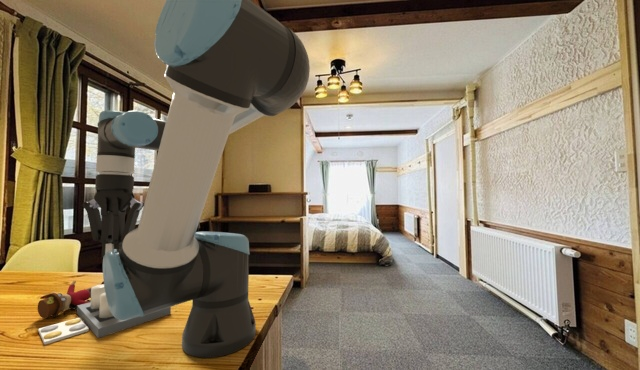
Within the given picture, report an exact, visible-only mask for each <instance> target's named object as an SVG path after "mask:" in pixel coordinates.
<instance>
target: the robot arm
mask: <svg viewBox="0 0 640 370" xmlns="http://www.w3.org/2000/svg"><path fill="white" fill-rule="evenodd" d="M154 35H155V39H154V41H153V42H154V45H153V46H154V50H155V51H154V52H155V54H156V56H157V58H158V59H159V60H160V61H162V62H163V64H164V65H166V68H165V72H164V78H165V79H166V81H167V83H168V84H169V86H170V88H171V90H172V91H173V94H172V98H171V102H170V106H169V110H168V113H167V116H166V120H162V119H161V120H160V119H158V118H157V119H156V118H153V117H152V116H151V115H150V114H148V113H146V112H144V111H142V110H141V111H140V110H128V111H120V110H103V111H101V112H99V116H98V122H97V125H96V126H97V148H96V150H97V151H96V153H97V154H96V163H95V164H96V166H95V172H97V173H98V174H97V175H96V176H95V187H94V188H95V190H96V192H95V194H94V196H93V198H92V199H90V200H89V201H85V202H82V207H83V208H84V210H85V211H86V213H87V215H86V216H87V219H88V223H89V227H90V228H89V229H90V233H91V237H92V240H93V242H99V243H100V244H101V257H102V258H103V259H102V276H103V280H102V281H104V288H105V293H106V298H107V302H108V306H109V309H110V311H111V313H112V315H113V316H114V317H115V318H117V319H119V320H127V319H131V318H135V317H139V316H141V317H143V316H145V315H147V314H150V313H153V312H156V311H159V310H162V309H165V308H169V307H171V308H172V307H175V306H177V305H180V304H181V305H182V304H185V303H187V302H190V301H192V303H191V304H192V306H191V309H190V312H189V315H188V317H187V321H186V323H185V326H184V329H183V330H182V331H183V332H182V334H181V335H182V337H181V338H182V339H181V347H182V350H183V352H184V353H185V354H187V355H189V356H191V357H195V358H202V359H203V358H205V359H206V358H210V359H211V358H218V357H223V356H227V355H231V354H232V353H236V352H238V351H240V350H241V349H243V348H245V347H247V346H248V345H249V344H250V343H252V342H253V340H254V339H255V337H256V331H257V330H256V328H257V327H256V325H257V323H256V319H255V316H254V312H253V309H252V307H251V303H250V301H249V284H250V283H249V278H250V277H249V274H250V273H249V271H250V270H249V269H250V254H251V253H250V242H249V238H248V237H247V236H246V235H244V234H243V233H242V234H241V233H234V232H223V231H197V229H198V226H199V224H200V220H201V218H202V214H203V211H204V208H205V205H206V203H207V199H208V197H209V194H210V190H211V188H212V185H213V182H214V179H215V177H216V176H215V175H216V173H217V170H218V166H219V165H220V161H221V158H222V156H223V152H224V150H225V146H226V144H227V141H228V138H229V135H231V134H233V133H235V132H236V131H238V130H240V129H242V128H243V127H246V126H247V125H250V124H251V123H253V122H255V121H257V120H259V119H260V118H263V117H264V116H265V117H268V118H269V117H270V118H271V117H276V116H277V115H279V114H281V113H284V112H285V111H287V110H289V108H291V107H292V106H294V105H295V104H296V103H297V102H298V101H299V99H301V97H302V96H303V94H304V92H305V90H306V88H307V86H308V82H309V78H310V72H311V71H310V70H311V69H310V68H311V67H310V59H309V55H308V52H307V49H306V48H305V47H306V46H305V45H304V43H303V42H302V40H301V39H300V37H299V35H297V34H296V33H295V32H294V31H293V30H292V29H291V28H289V27H288V26H286V25H284V24H283V23H281V22H280V21H279V20H277V18H275V17H273V16H272V15H271V14H270V13H268V12H267V11H266V10H264V9H263V8H262V7H260V6H259V5H257V4H256V3H255V2H254V1H252V0H166V1H165V3H164V4H163V7H162V9H161V11H160V13H159V17H158V20H157V23H156V27H155V32H154ZM136 149H143V150H149V151H157V155H156V159H155V161H154V166H153V171H152V173H151V178H150V180H149V185H148V189H147V193H146V196H145V201H144V202H142V201H139V200H137V199H136V198H135V194H134V192H133V191H134V189H135V187H134V186H135V177H134V176H133V174H134V173H135V162H136V161H135V160H136V159H135V158H136V155H135V154H136ZM128 207H129V208H130V209H129V211H128V214H127V209H128ZM99 208H100V209H99ZM141 210H142V211H141ZM140 211H141V214H140ZM126 215H127V217H126ZM139 215H141V216H140V219H139ZM138 219H139V223H138V226H137V227H136V225H137V222H138Z"/></svg>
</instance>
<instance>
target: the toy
mask: <svg viewBox="0 0 640 370" xmlns="http://www.w3.org/2000/svg"><path fill="white" fill-rule="evenodd" d="M76 283H77V282H76V280H73V281H72V282H71V284H69V286H68V287H67V288H68V289H67V292H66V293H61V292H60V293H59V292H58V293H55V292H52V293H49V294H48V295H46V297H45V298H43V299H41V300H39V301H38V303H37V312H38V315H39V316H40V318H42V319H47V318H49V317H54V318H56V317H59V314H60V313H62V312H64V311H68V310H77V305H81V304H85V303H89V302H91V288H92V287H89V288H86V289H85V288H84V289H81V290H77V291H75V287H76V285H75V284H76ZM102 284H104V280H102V282H100V285H102Z"/></svg>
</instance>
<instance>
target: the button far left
mask: <svg viewBox="0 0 640 370" xmlns="http://www.w3.org/2000/svg"><path fill="white" fill-rule="evenodd" d="M90 288H91V298H90V300H91V304H90V308H91V309H100V295H101V294H102V293H105V288H104V284H102V285H101V284H98V285H93V286H92V287H90Z"/></svg>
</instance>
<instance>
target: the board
mask: <svg viewBox="0 0 640 370" xmlns="http://www.w3.org/2000/svg"><path fill="white" fill-rule="evenodd" d="M90 304H91V302H89V303H85V304H81V305H77V309H76V314H77V315H78V317H79V318H80V319H81V320H82V321H83V322H84V324H85V325H86V326H87V327H88V328H89V330H90V331H91V332H92V333H93V334H94V336H96V337H97V339H100V338H102V337H106V336H108V335H113V334H114V333H117V332H120V331H124V330H127V329H130V328H132V327H133V328H134V327H135V326H139V325H141V324H145V323H147V321H148V322H150V321H153V320H157V319H159V318H162V317H165V316H168V315H171V312H172V309H171V308H172V307H169V308H165V309H162V310H159V311H156V312H153V313H150V314H147V315H145V316H143V317H141V316H139V317H135V318H131V319H127V320H119V319H117V318H115V317H114V316H113V317H108V318H100V317H99V310H100V309H91V308H90ZM144 322H145V323H144Z"/></svg>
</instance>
